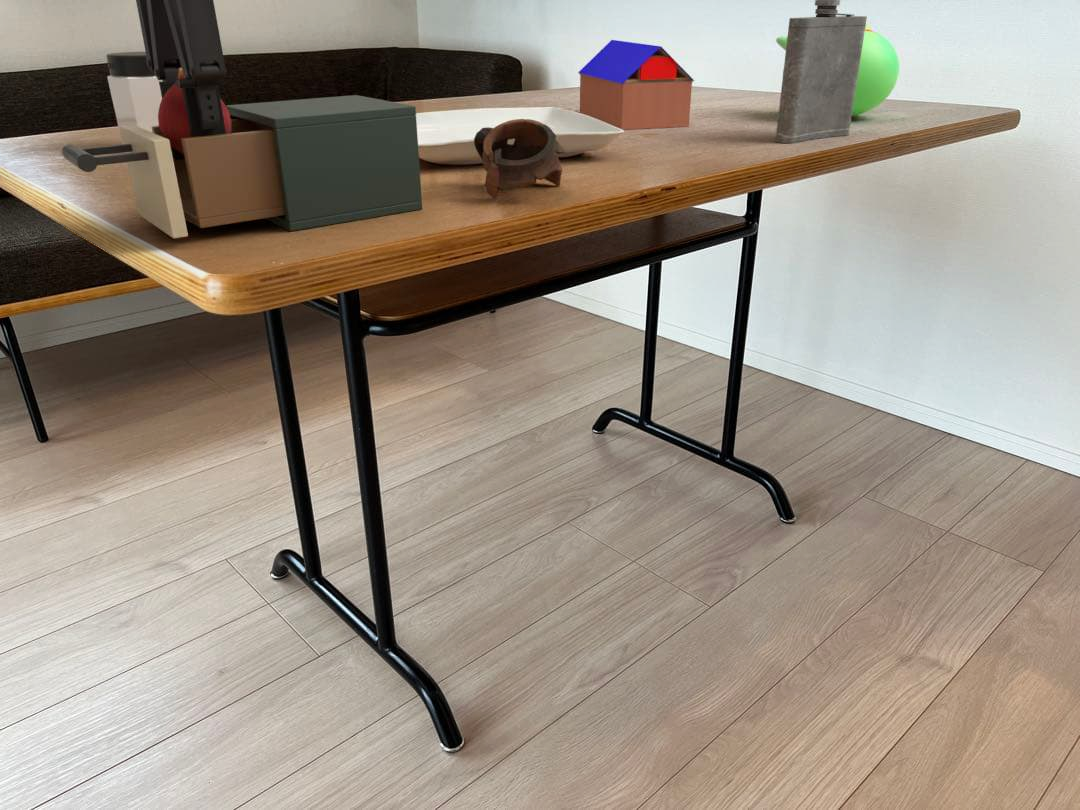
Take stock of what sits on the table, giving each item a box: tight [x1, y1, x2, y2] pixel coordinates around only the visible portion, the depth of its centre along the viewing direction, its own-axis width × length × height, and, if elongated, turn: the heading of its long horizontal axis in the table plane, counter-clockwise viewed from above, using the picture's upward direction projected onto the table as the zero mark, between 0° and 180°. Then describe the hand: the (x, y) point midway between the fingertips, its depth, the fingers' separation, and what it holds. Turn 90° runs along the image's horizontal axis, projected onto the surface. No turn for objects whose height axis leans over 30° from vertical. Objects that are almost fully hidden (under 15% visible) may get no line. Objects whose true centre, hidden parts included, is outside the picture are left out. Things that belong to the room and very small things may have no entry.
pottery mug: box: [474, 119, 565, 200], centre depth 88 cm, size 12×10×8 cm
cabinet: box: [225, 94, 423, 232], centre depth 80 cm, size 14×12×10 cm
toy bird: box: [775, 24, 900, 117], centre depth 136 cm, size 18×17×15 cm
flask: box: [774, 0, 868, 144], centre depth 116 cm, size 4×14×18 cm, turn 124°
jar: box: [106, 51, 163, 145], centre depth 112 cm, size 9×8×12 cm
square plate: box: [416, 106, 625, 166], centre depth 111 cm, size 27×27×4 cm
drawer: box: [61, 118, 285, 239], centre depth 73 cm, size 18×11×8 cm, turn 128°
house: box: [577, 39, 695, 131], centre depth 135 cm, size 12×20×12 cm, turn 17°
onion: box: [158, 68, 231, 155], centre depth 71 cm, size 6×6×8 cm
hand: (201, 162), depth 73 cm, fingers closed on onion, 6 cm apart
